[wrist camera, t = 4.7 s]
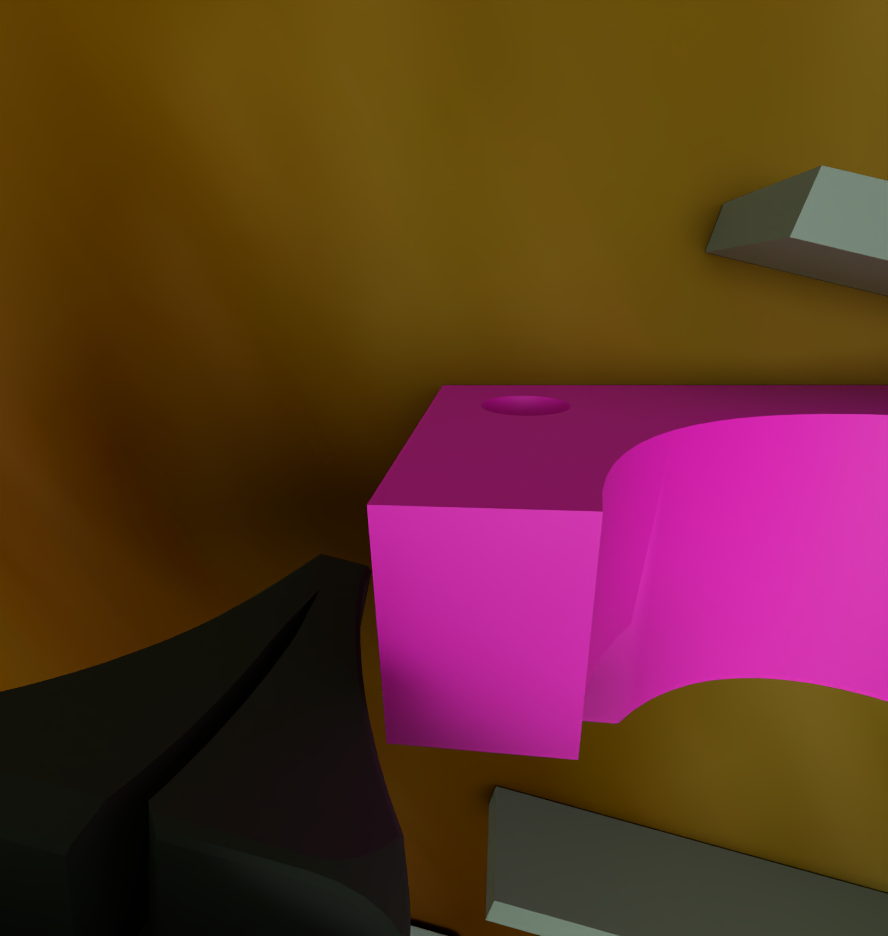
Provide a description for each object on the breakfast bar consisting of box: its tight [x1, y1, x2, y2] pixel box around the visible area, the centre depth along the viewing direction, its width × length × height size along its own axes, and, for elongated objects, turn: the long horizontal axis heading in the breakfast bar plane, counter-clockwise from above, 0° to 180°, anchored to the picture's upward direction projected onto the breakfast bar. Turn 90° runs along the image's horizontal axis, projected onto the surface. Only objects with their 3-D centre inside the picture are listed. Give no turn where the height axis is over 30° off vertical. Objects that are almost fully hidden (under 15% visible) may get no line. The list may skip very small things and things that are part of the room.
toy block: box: [367, 385, 888, 760], centre depth 9 cm, size 15×6×8 cm, turn 91°
